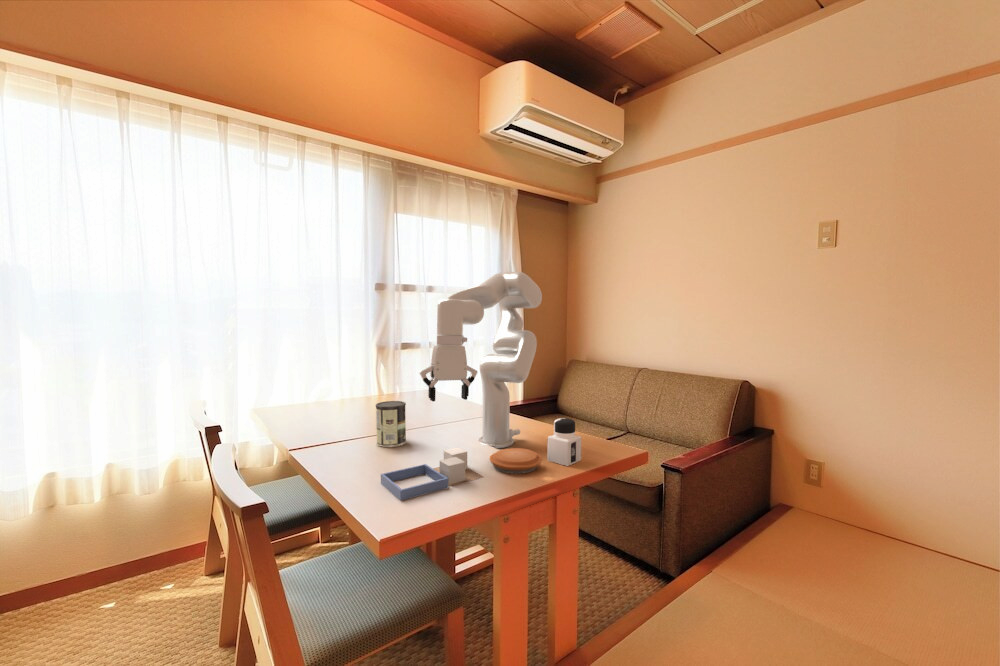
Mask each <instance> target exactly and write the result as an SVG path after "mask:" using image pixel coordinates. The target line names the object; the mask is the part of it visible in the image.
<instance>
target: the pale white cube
mask: <svg viewBox="0 0 1000 666" xmlns="http://www.w3.org/2000/svg"><path fill="white" fill-rule="evenodd" d="M439 467H440V473H441V474H442V475H444V476H445V477H447V478H448V485H450V484H453V483H457V482H461V481H465V462H464V461H462V460H460V459H459V458H457V457H453V458H449V459H444V458H443V459H441V460H439Z"/></svg>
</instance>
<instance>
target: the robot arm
mask: <svg viewBox="0 0 1000 666" xmlns="http://www.w3.org/2000/svg"><path fill="white" fill-rule="evenodd" d="M537 284H538V283H536V282H535V281H534V280H533V279H532V278H531V277H530V275H527V274H526V273H525V272H522V271H509V272H508V271H507V272H498V273H495V274H493V275H491V277H489V278H488V279H486V280H485V281H484V282H481V283H480V284H479V285H474V286H472V287H469V288H467V289H463V290H460V291H458V292H456V293H453V294H452V295H449V296H448V297H446V298H441V299H439V300H438V301H437V306H436V307H437V311H436V312H437V315H436V320H437V321H436V345H433V348H432V353H431V359H430V361H431V362H430V366H428V367H426V368H425V369H422V370H421V371H419V376H420V378H421V379H422V381H423V383H425V384H426V386H427V387H428V399H429V401H432V402H435V401H436V393H437V391H436V390H437V389H436V387H435V386H436V384H437V383H438V381H439V382H440V381H441V382H442V381H443V382H444V381H461V382H462V385H461V399H463V400H466V401H467V400H468V397H469V393H470V392H469V391H470V390H469V387H470V385H471V384H472V382H474V380H475V378H476V376H477V375H478V370H477V369H475V368H472V367H471V366H469V365H468V362H467V361H468V359H467V352H466V347H465V346H464V343H467V342H468V337H465V336H464V325H470V326H471V325H476V324H479V323H480V322H481V321H482V320H483V318H484V317H485V310H487V309H490V308H493V307H495V306H496V305H498V307H499V310H500V314H501V315H500V316H501V321H500V322H499V327H498V329H497V331H496V334H495V336H494V339H493V342H492V343H493V344H492V349H493V352H494V353H490V354H486V355H484V356H483V357H482V358H481V360H480V362H479V374H480V377H481V387H482V436H481V437H479V438H478V440H477V442H479V443H480V444H482V445H486V446H489V447H491V448H494V449H506V448H508V447H511V446H513V445H514V442H515V439H514V438H513V437H515V436H517V435H518V436H519V435H520V434H521V430H520V429H519V428H516V429H513V428H510V412H511V411H510V407H511V405H510V403H511V402H510V401H511V399H510V391H509V388H508V386H507V385H506V383H509V384H511V383H512V384H521V383H524V382H525V381H526V380H527V379H528V377H529V374H530V371H531V368H532V365H533V362H534V358H535V355H536V352H537V348H538V347H537V345H538V343H537V341H538V340H537V336H536V335H535V334H534V332H532V331H531V330H526V329H525V330H524V328H523V327H524V320H523V318H522V316H521V315H520V314H519V313H518V311H517V309H536V308H538V307H539V306H540V305H541V303H542V302H543V293H542V291H541V288H540V287H539V285H537ZM468 372H469V373H470V376H469V377H467V376H468ZM428 373H429V374H430V380H429V378H428V377H427V374H428Z"/></svg>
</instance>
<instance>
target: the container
mask: <svg viewBox="0 0 1000 666" xmlns="http://www.w3.org/2000/svg"><path fill="white" fill-rule="evenodd" d="M546 455H547V461H548V462H550V463H554V462H555V463H554V464H557V463H558V465H561V466H564V465H565V467H569V465H570V466H572V465H573V464H576V463H578V462H581V461H582V436H581V435H578V434H577V435H576V421H575V420H574V419H572V418H567V417H563V418H562V417H560V418H557V419H555V420H554V421H553V434H551V435H549V436H547V454H546Z"/></svg>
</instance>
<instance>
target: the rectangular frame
mask: <svg viewBox="0 0 1000 666" xmlns="http://www.w3.org/2000/svg"><path fill="white" fill-rule="evenodd" d="M433 468H434V467H431V466H430V465H428V464H426V463H423V464H419V465H416V466H415V465H414V466H411V467H406V468H402V469H397V470H392V471H388V472H384V473H381V474H380V484H381V485H382V486H383V487H384V488H386V489H387V490H388V492H390V493H391V494H392V495H393V496H394V497H396V498H397V499H398V500H399V501H405V500H408V499H411V498H416V497H419V496H422V495H427V494H430V493H435V492H437V491H442V490H445V489H448V488H449V486H448V478H447V477H445V476H444V475H442V474H441V473H439V472H437V471H436V470H434V469H433ZM419 475H420V476H421V475H426V476H428V477H429V478H430V479H432V481H430V482H424V483H421V484H417V485H413V486H409V487H405V488H401V487H400V486H399V485H397V484H396V483H395V481H400V480H404V479H408V478H411V477H416V476H419Z"/></svg>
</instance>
